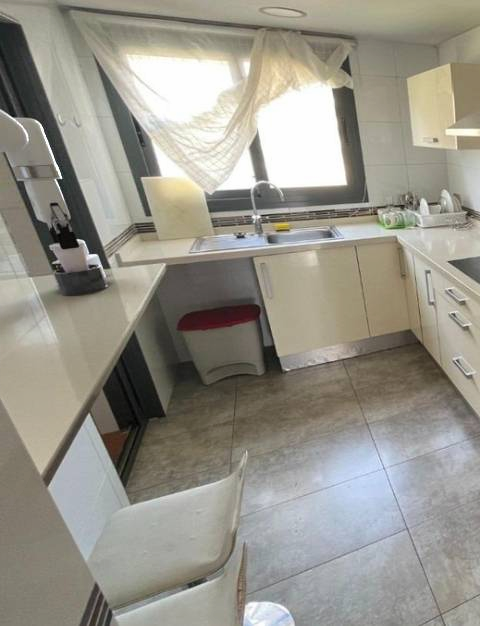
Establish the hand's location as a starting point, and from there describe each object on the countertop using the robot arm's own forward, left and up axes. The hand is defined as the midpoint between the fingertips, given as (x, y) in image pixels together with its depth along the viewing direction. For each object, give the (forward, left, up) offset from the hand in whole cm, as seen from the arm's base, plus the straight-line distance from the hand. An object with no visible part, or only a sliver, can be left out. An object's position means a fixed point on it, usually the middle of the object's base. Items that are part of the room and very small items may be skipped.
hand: (67, 245), depth 116 cm
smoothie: (0, 0, -9) cm, 9 cm away
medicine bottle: (-2, +9, -12) cm, 15 cm away
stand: (0, 0, -12) cm, 12 cm away
